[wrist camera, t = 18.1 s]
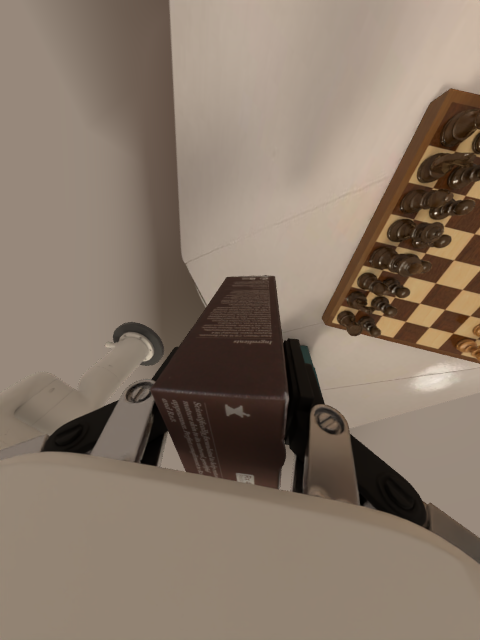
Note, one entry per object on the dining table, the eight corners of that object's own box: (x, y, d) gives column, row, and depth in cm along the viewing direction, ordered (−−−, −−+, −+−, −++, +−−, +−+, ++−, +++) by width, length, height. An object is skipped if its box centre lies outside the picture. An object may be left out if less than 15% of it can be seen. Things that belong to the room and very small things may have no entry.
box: (222, 276, 16) (140, 389, 5) (275, 274, 15) (307, 397, 5) (228, 335, 18) (184, 485, 8) (273, 335, 18) (289, 497, 7)
